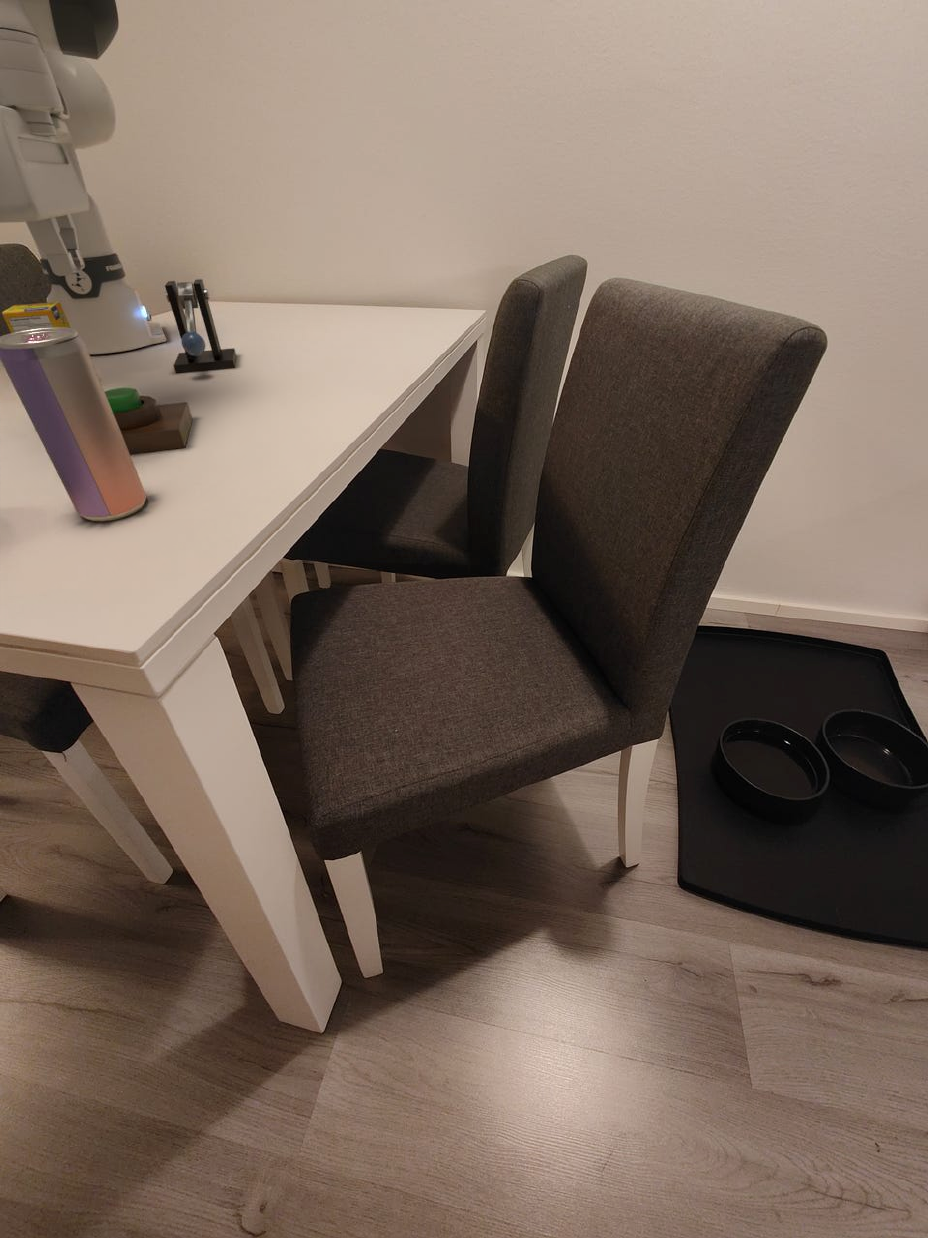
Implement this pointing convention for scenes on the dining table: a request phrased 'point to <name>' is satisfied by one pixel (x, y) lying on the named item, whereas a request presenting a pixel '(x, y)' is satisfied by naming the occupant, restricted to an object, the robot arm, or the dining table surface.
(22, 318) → the supplement box
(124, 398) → the light button
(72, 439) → the beverage can
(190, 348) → the switch lever
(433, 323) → the dining table surface
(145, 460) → the dining table surface
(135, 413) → the button block
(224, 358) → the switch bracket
